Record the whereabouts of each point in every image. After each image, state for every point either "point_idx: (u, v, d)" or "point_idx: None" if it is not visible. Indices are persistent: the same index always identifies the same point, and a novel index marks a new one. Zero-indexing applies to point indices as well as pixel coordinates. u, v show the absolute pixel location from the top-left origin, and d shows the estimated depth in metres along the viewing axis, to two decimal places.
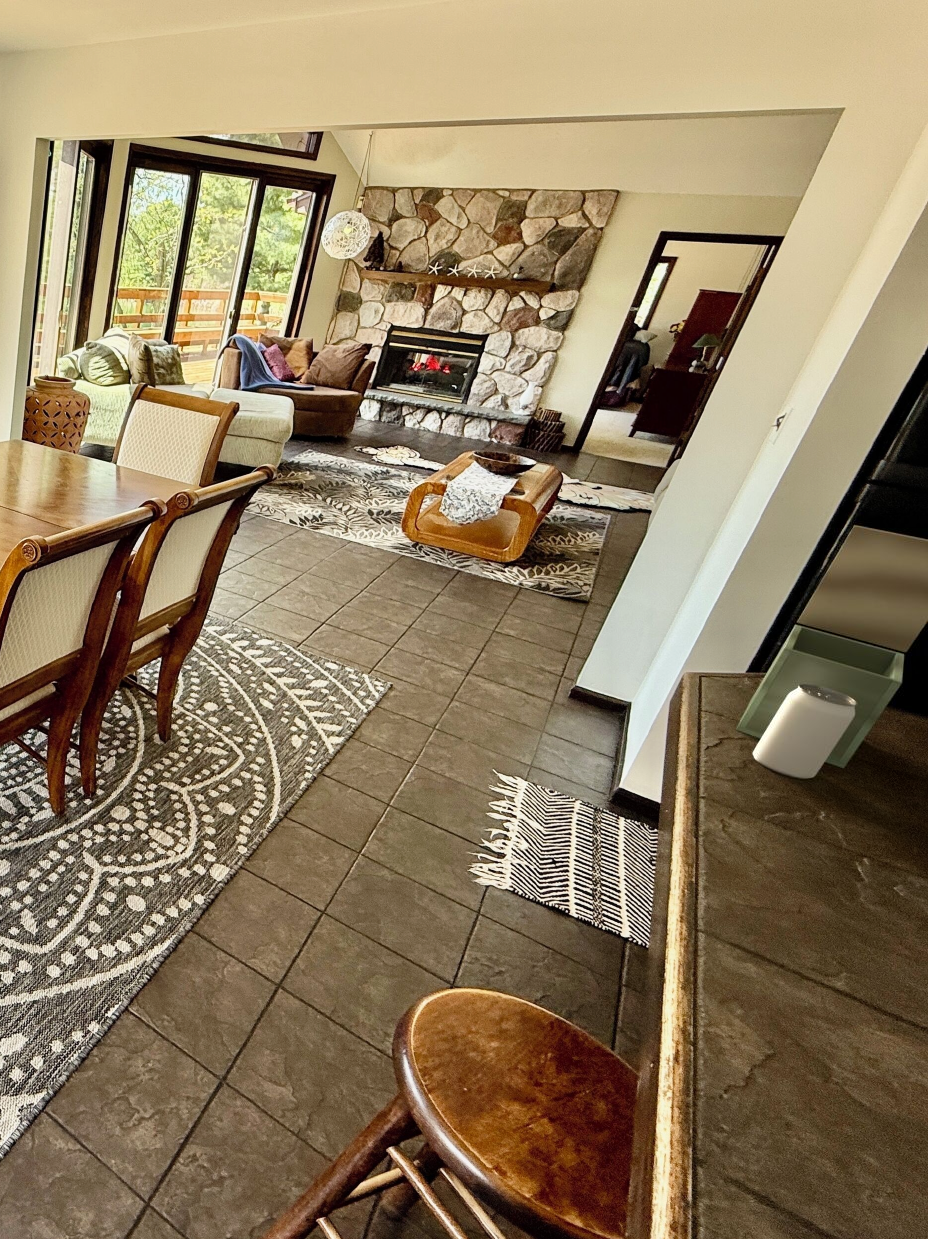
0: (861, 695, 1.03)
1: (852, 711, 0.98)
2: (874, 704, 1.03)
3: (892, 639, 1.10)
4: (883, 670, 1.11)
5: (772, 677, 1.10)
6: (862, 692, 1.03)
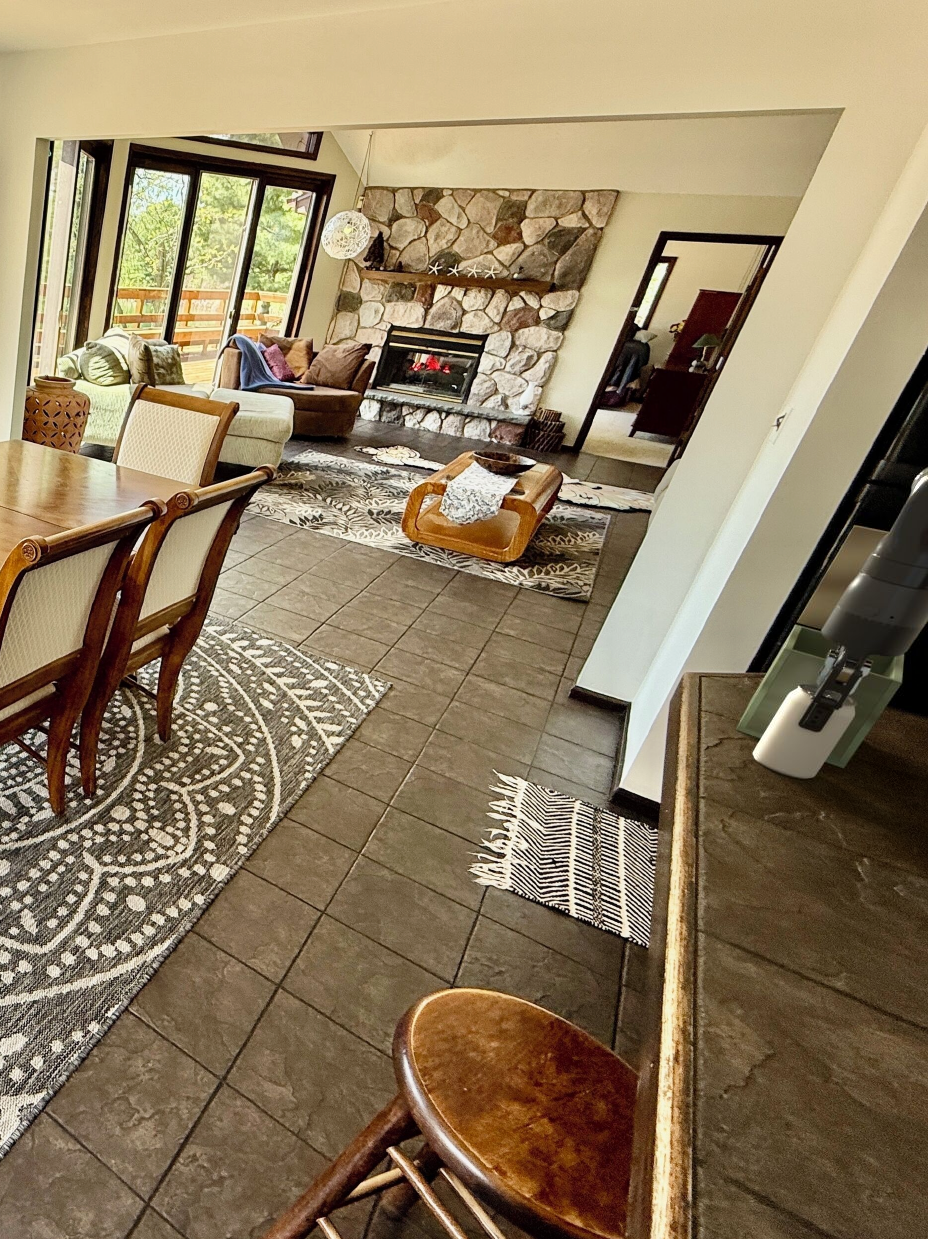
0: (861, 695, 1.03)
1: (852, 711, 0.98)
2: (874, 704, 1.03)
3: None
4: (883, 670, 1.11)
5: (772, 677, 1.10)
6: (862, 692, 1.03)
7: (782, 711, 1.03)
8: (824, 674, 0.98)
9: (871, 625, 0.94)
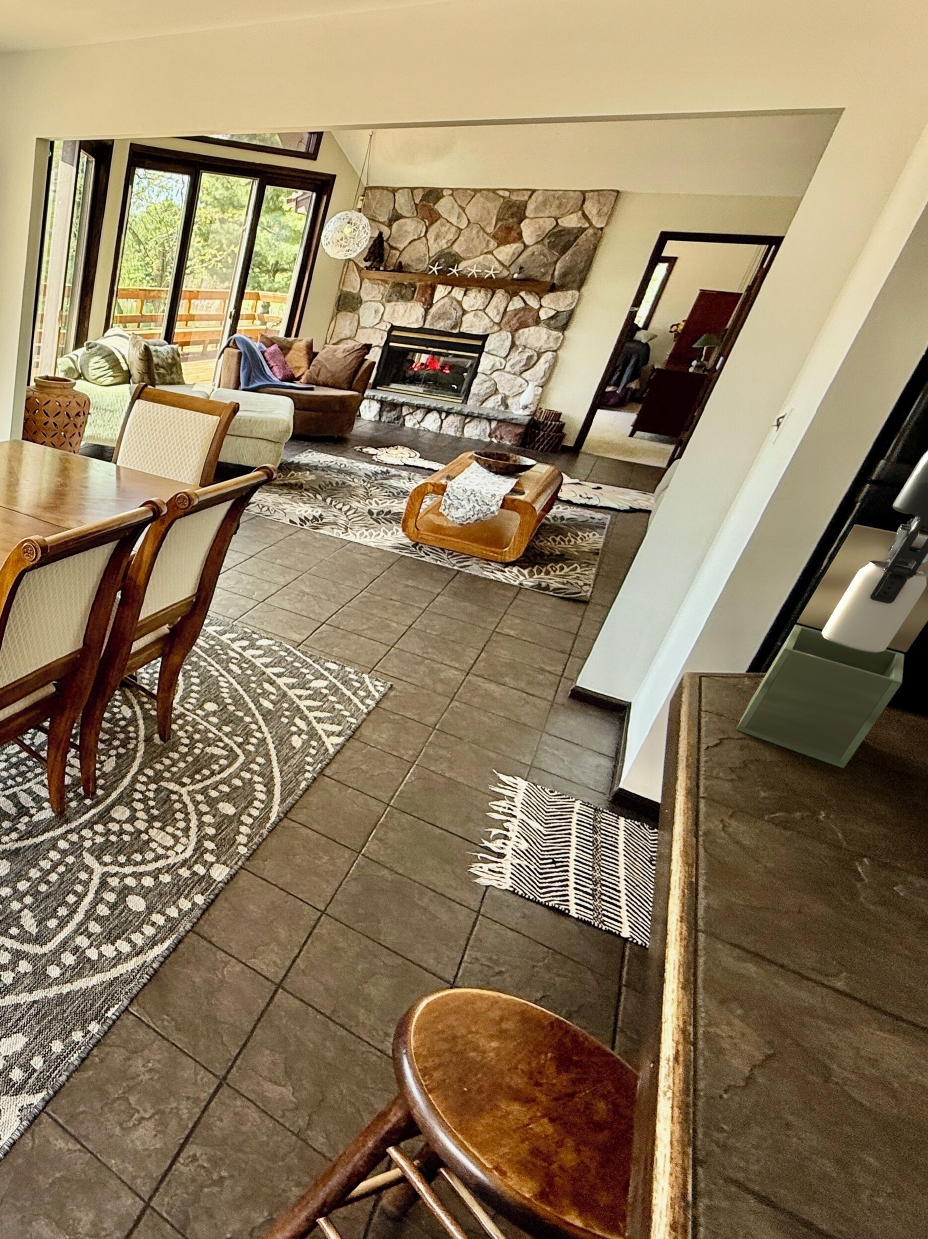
0: (861, 695, 1.03)
1: (924, 581, 1.01)
2: (874, 704, 1.03)
3: (892, 639, 1.10)
4: (883, 670, 1.11)
5: (772, 677, 1.10)
6: (862, 692, 1.03)
7: (853, 587, 1.06)
8: (896, 546, 1.01)
9: None
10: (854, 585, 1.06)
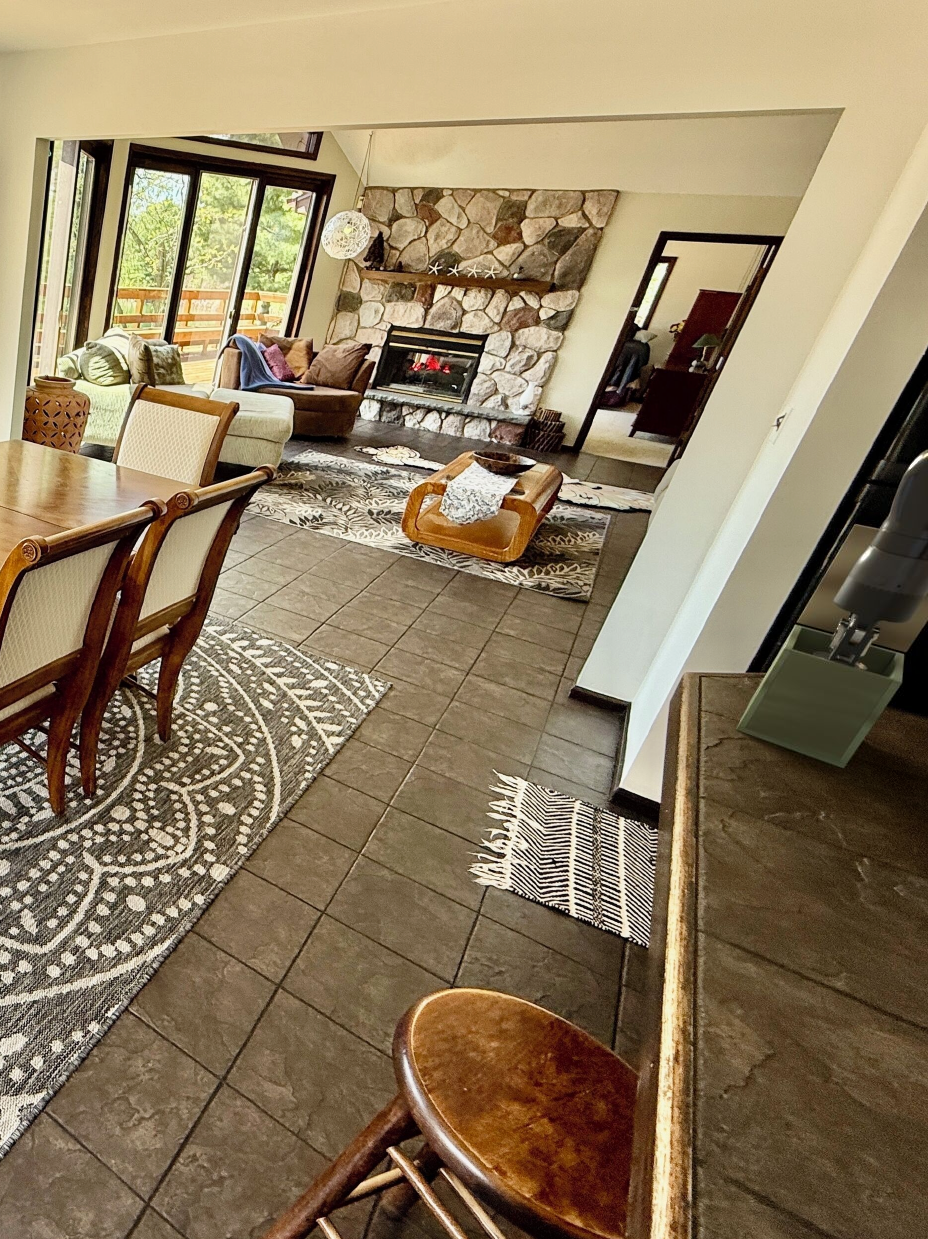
0: (861, 695, 1.03)
1: None
2: (874, 704, 1.03)
3: (892, 639, 1.10)
4: (883, 670, 1.11)
5: (772, 677, 1.10)
6: (862, 692, 1.03)
7: None
8: (837, 639, 1.07)
9: (880, 593, 1.03)
10: None
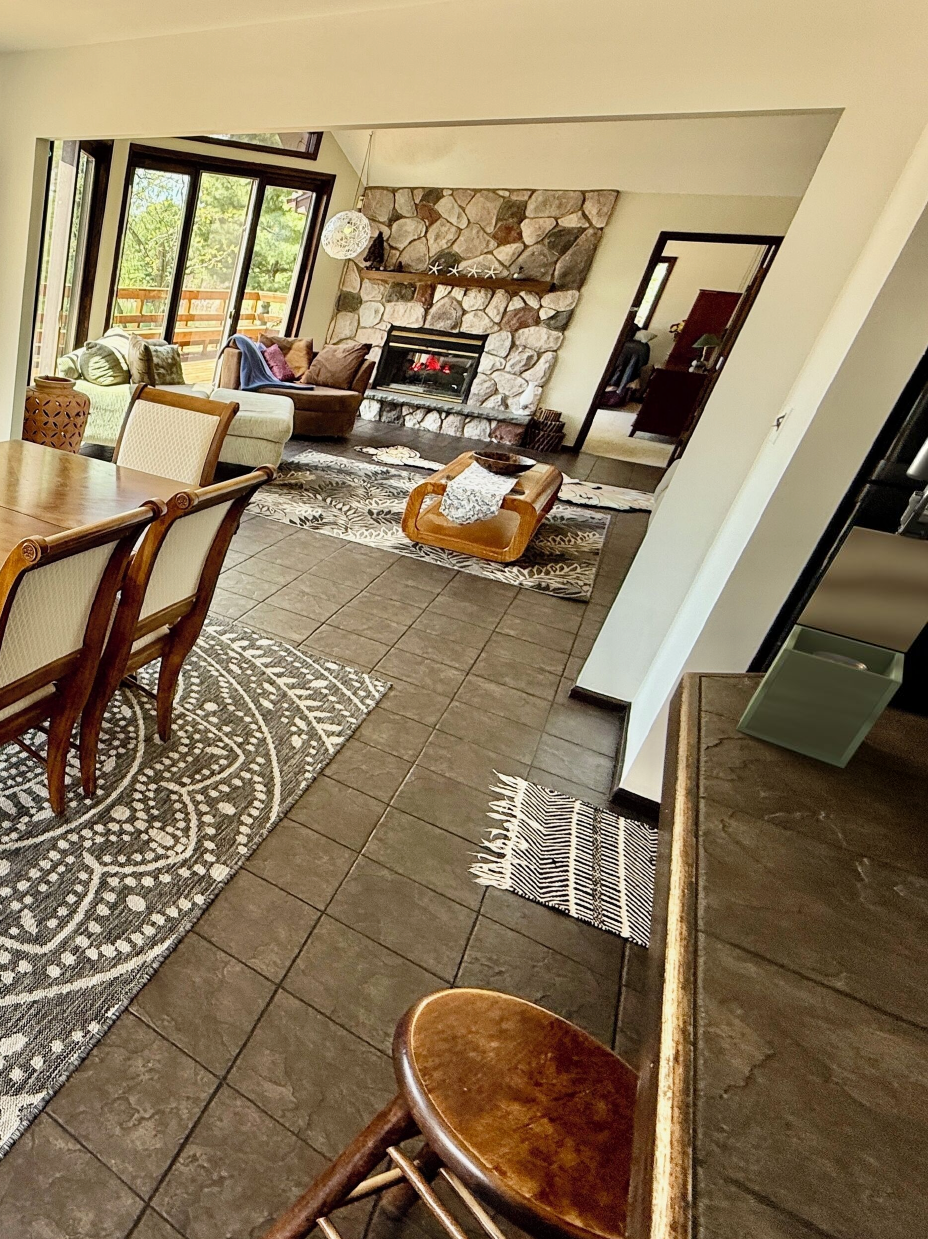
0: (861, 695, 1.03)
1: None
2: (874, 704, 1.03)
3: (892, 639, 1.10)
4: (883, 670, 1.11)
5: (772, 677, 1.10)
6: (862, 692, 1.03)
7: None
8: (908, 514, 1.06)
9: None
10: None
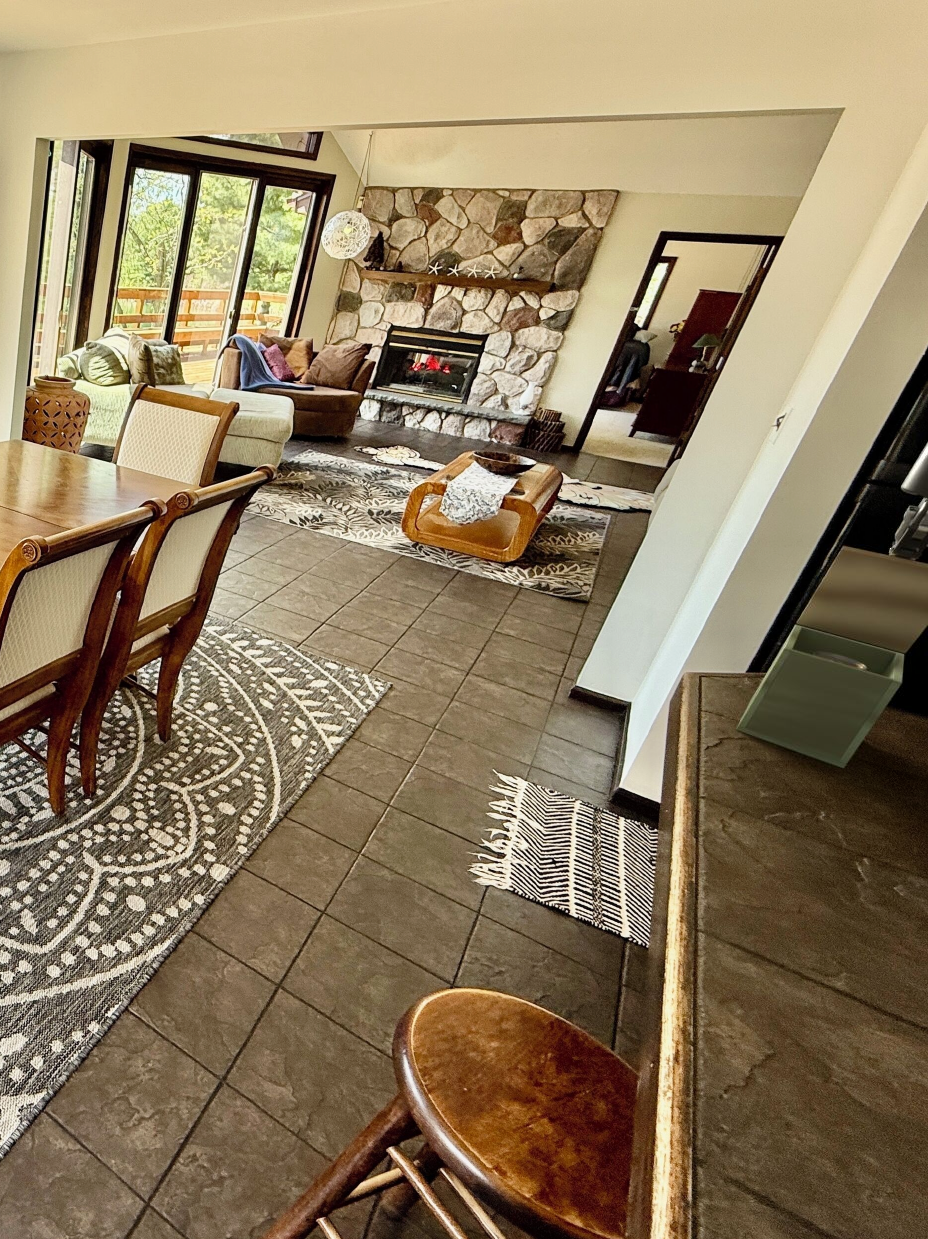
0: (861, 695, 1.03)
1: None
2: (874, 704, 1.03)
3: (890, 642, 1.10)
4: (883, 670, 1.11)
5: (772, 677, 1.10)
6: (862, 692, 1.03)
7: None
8: (902, 529, 1.03)
9: None
10: None
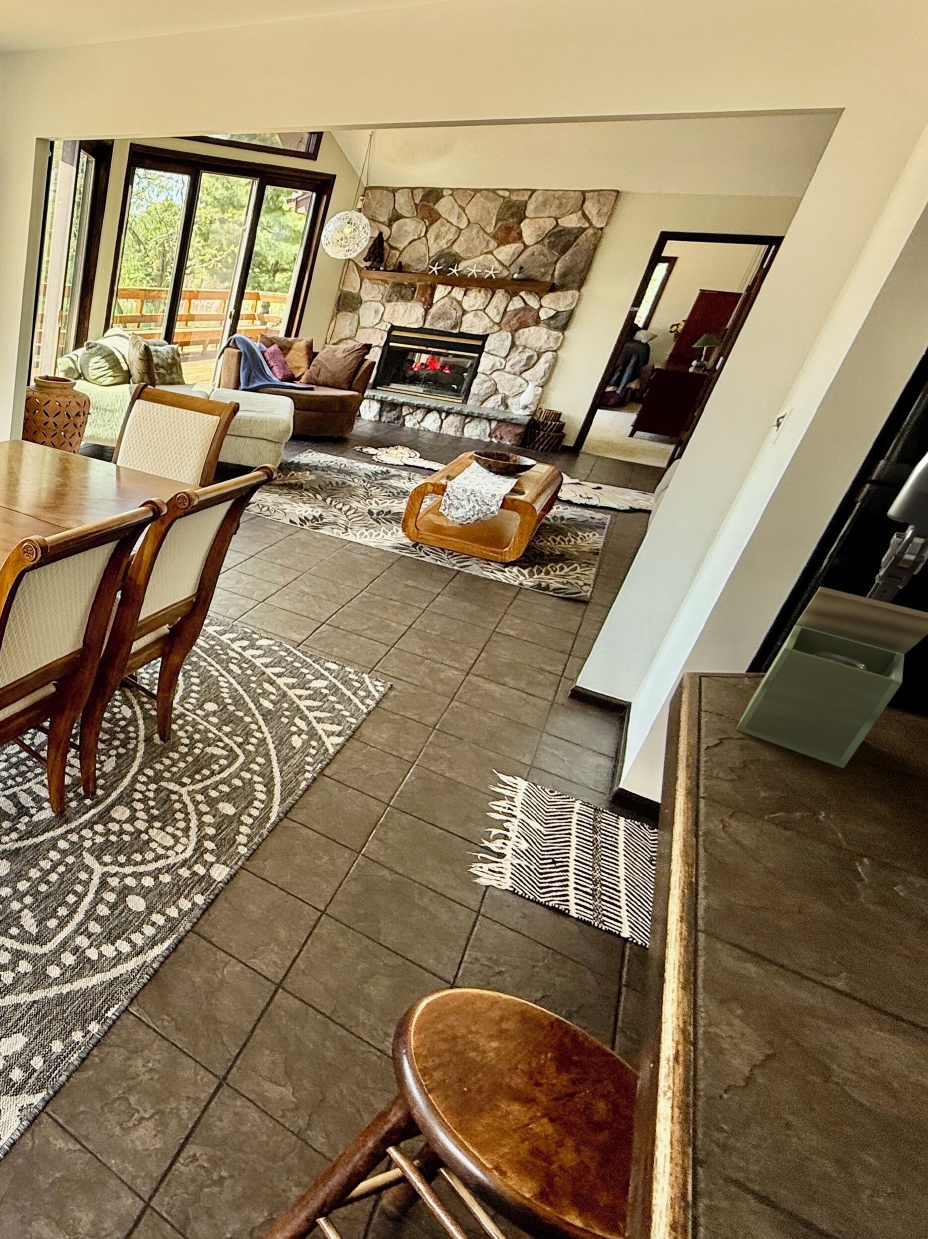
0: (861, 695, 1.03)
1: None
2: (874, 704, 1.03)
3: (888, 646, 1.10)
4: (883, 670, 1.11)
5: (772, 677, 1.10)
6: (862, 692, 1.03)
7: None
8: (889, 557, 1.02)
9: None
10: None
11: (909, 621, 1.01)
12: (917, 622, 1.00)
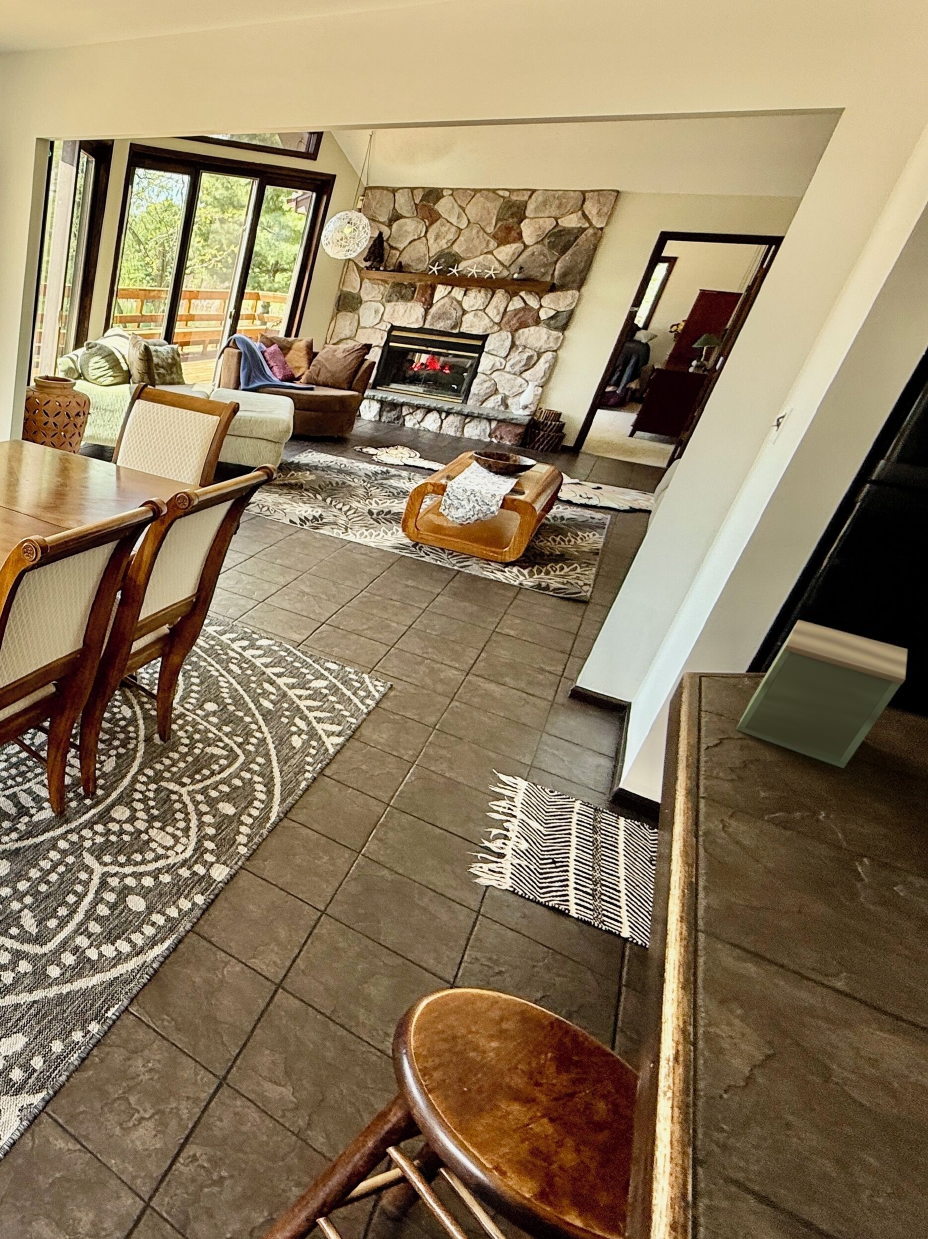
0: (861, 695, 1.03)
1: None
2: (874, 704, 1.03)
3: None
4: None
5: (772, 677, 1.10)
6: (862, 692, 1.03)
7: None
8: None
9: None
10: None
11: None
12: None
